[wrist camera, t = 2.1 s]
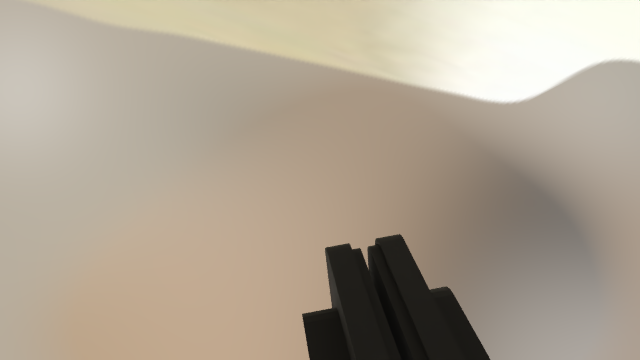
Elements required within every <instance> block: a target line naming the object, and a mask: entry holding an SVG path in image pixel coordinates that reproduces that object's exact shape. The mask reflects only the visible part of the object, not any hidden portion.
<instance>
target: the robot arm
mask: <svg viewBox="0 0 640 360" xmlns="http://www.w3.org/2000/svg"><path fill="white" fill-rule="evenodd" d="M325 253H326V262H327V269H328V278H329V286H330V294H331V302H332V308H331V309H326V310H321V311H316V312H311V313H305V314H302V316H303V322H304V328H305V334H306V340H307V346H308V352H309V358H310V360H490V358H489V356H488V354H487V353H486V351H485V349H484V348H483V346H482V344H481V342H480V340H479V339H478V337H477V335H476V333H475V331H474V330H473V328H472V326H471V324H470V323H469V321H468V319H467V317H466V315H465V314H464V312H463V310H462V308H461V307H460V305H459V303H458V301H457V300H456V298H455V296H454V295H453V293H452V291H451V290H450V289H449V288H448V287H441V288H436V289H431V290H429V288H428V286H427V284H426V282H425V280H424V278H423V276H422V274H421V272H420V270H419V268H418V266H417V265H416V263H415V261H414V259H413V257H412V255H411V253H410V251H409V249H408V247H407V245H406V243H405V241H404V239H403V237H402V236H401V235H400V234H399V235H393V236H388V237H383V238H377V239H376V240H375V245H374V246H369V247H368V265H369V270H368V267H367V265H366V262H365V259H364V257H363V254H362V251H361V249H360V248H358V249H352V248H351V246H350V244H343V245H338V246H332V247H327V248H325Z"/></svg>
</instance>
